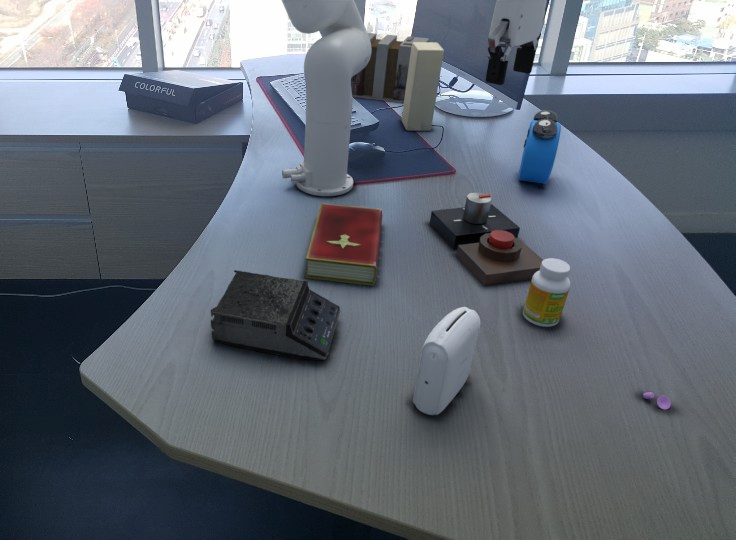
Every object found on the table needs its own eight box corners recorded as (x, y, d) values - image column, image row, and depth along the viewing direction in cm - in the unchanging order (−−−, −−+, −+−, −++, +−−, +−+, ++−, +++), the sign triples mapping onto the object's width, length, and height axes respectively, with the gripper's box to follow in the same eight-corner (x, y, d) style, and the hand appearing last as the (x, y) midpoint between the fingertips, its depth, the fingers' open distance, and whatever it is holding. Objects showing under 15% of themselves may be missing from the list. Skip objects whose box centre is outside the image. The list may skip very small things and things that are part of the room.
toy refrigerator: (434, 131, 169) (447, 49, 157) (406, 131, 169) (417, 49, 157) (427, 120, 175) (439, 41, 164) (401, 120, 175) (411, 41, 164)
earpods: (659, 412, 85) (665, 400, 85) (667, 412, 83) (672, 400, 83) (639, 399, 85) (644, 388, 85) (646, 399, 83) (652, 387, 84)
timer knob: (470, 225, 119) (474, 202, 116) (458, 214, 122) (463, 192, 120) (491, 223, 119) (496, 199, 117) (479, 212, 123) (484, 189, 120)
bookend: (349, 80, 207) (353, 28, 198) (427, 89, 199) (434, 35, 190) (335, 94, 195) (339, 39, 186) (417, 104, 187) (425, 47, 178)
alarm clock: (545, 194, 137) (563, 127, 128) (515, 189, 139) (531, 123, 130) (546, 171, 147) (563, 107, 139) (518, 167, 149) (533, 104, 141)
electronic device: (326, 365, 90) (329, 331, 87) (210, 343, 94) (209, 310, 91) (340, 316, 100) (343, 284, 96) (234, 298, 104) (234, 267, 100)
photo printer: (437, 421, 81) (453, 346, 74) (407, 406, 83) (420, 331, 77) (471, 379, 88) (489, 307, 81) (442, 366, 90) (458, 294, 83)
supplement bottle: (541, 331, 97) (558, 278, 91) (514, 313, 101) (528, 260, 95) (566, 321, 99) (584, 269, 94) (539, 303, 103) (554, 252, 98)
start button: (496, 251, 110) (498, 242, 109) (484, 239, 113) (485, 231, 112) (516, 248, 110) (519, 239, 109) (504, 237, 114) (506, 228, 113)
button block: (484, 285, 107) (488, 265, 105) (455, 255, 115) (459, 236, 113) (547, 277, 109) (553, 257, 107) (515, 248, 118) (520, 229, 115)
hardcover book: (381, 226, 124) (383, 207, 122) (375, 285, 107) (377, 264, 105) (320, 220, 126) (321, 201, 124) (304, 277, 109) (305, 256, 107)
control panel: (453, 249, 117) (456, 234, 115) (429, 224, 125) (431, 209, 124) (516, 241, 120) (520, 227, 118) (488, 217, 128) (492, 203, 126)
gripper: (531, -37, 110) (512, 64, 119) (480, -26, 100) (463, 83, 109) (575, -34, 105) (551, 71, 114) (525, -22, 95) (503, 92, 104)
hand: (508, 77), depth 112 cm, fingers open, 9 cm apart
